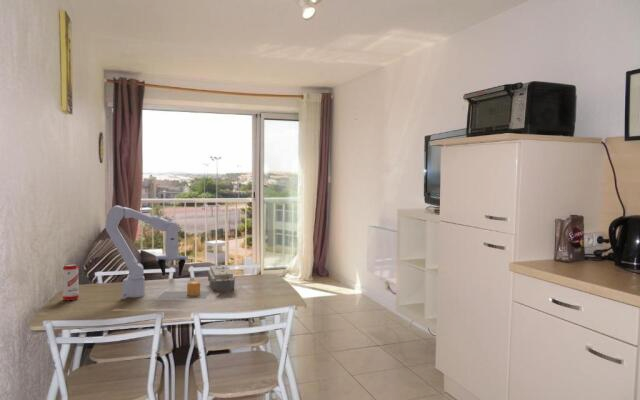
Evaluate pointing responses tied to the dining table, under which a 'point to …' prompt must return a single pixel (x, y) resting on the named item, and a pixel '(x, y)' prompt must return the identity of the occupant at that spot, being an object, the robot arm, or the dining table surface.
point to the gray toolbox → (221, 278)
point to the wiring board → (182, 295)
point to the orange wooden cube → (193, 288)
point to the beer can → (70, 282)
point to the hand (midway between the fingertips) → (171, 275)
